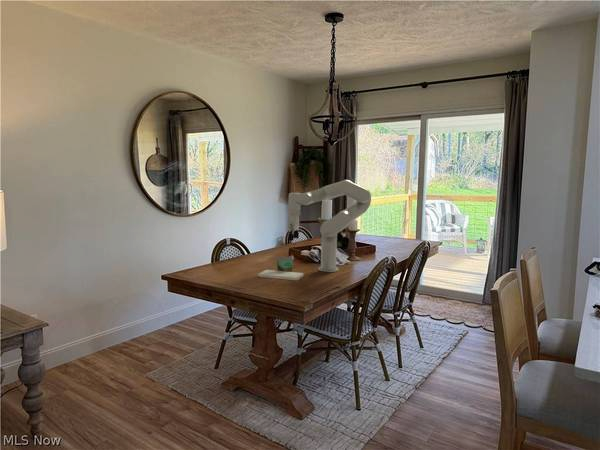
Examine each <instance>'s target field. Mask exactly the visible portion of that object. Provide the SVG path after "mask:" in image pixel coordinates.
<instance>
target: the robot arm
mask: <svg viewBox="0 0 600 450" xmlns="http://www.w3.org/2000/svg"><path fill="white" fill-rule="evenodd" d="M342 196H346V197H348V198H351V199H353V200H355V202H354V203H352V204H351V205H349V206H348V207H347V208H345V209H343V210H341V211H339V212H338V213H337V214H335V215H334V216H332V217H331V218H330V219H327V220H325V221H324V222H322V224H321V225H320V227H319V228H320V229H319V231H320V234H321V248H320V252H321V253H320V266H319V267H318V271H320V272H324V273H336V272H339V267H338V266H337V250H338V249H337V247H338V245H337V244H338V233H340V232H342V231H343V230H344V229H346V228H347V227H349V226H350V225H351V223H352V222H353V221H355V220H357V219H358V218H359V217H361V216H362V215H364V213H366V212H367V211H368V210H369V209H370V208H369V207H370V206H371V201H372V194H371V192H370V190H369V189H368V188H365V187H362V186H360V185H358V184H356V183H354V182H352V181H351V180H349V179H344V180H342V181H341V180H340V181H338V182H335V183H331V184H328V185H325V186H322V187H320V188H318V189H314V190H312V191H308V192H302V193H301V192H300V193H299V192H290V193H288V211H287V212H288V213H287V215H288V217H287V218H288V219H287V228H286V229H287V231H288V232H287V233H288V241H294V240H295V239H299V236H300V231H299V229H300V215H301V205H304V206H308V205H310V204H311V205H312V204H313V203H318V202H321V201H324V200H325V201H327V200H332V199H335V198H338V197H342Z"/></svg>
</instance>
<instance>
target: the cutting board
mask: <svg viewBox="0 0 600 450" xmlns="http://www.w3.org/2000/svg"><path fill="white" fill-rule="evenodd" d="M304 276H305V274H304V272H294V271H292V272H285V271H278V270H273V269H265V270H263V271H261V272H260V273H258V277H259V278H269V279H279V280H287V281H288V280H289V281H298V280H300V279H301V278H303V277H304Z"/></svg>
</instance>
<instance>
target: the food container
mask: <svg viewBox="0 0 600 450" xmlns="http://www.w3.org/2000/svg"><path fill="white" fill-rule="evenodd" d="M294 260H295V257H294V255H293V254H290V256H289V255H288V256H276V258H275V261H276V268H277V270H276V271H285V272H293V262H294Z"/></svg>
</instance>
